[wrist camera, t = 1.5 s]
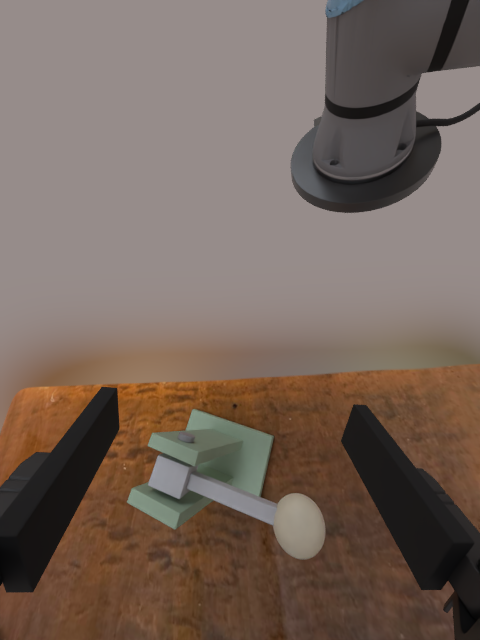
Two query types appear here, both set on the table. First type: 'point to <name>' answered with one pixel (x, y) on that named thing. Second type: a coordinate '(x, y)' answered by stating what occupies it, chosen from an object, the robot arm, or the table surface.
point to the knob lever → (248, 505)
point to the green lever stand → (206, 464)
